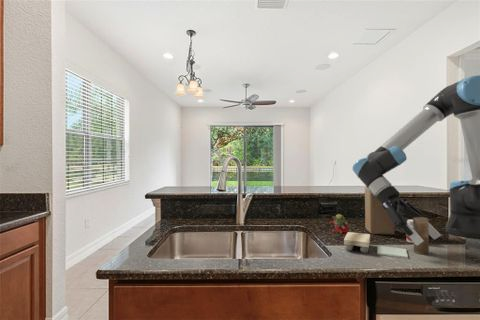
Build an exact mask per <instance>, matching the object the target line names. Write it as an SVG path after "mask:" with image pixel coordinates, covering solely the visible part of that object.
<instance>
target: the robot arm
mask: <svg viewBox="0 0 480 320" xmlns="http://www.w3.org/2000/svg"><path fill="white" fill-rule="evenodd" d="M422 108H423V109H422V110H421V111H420V112H419V113H418V114H416V115H415V116H414V117H413V118H411V120H409V121H408V122H407V123H406V124H405V125H404V126H403V127H401V128H400V129H399V130H398V131H397V132H395V133H394V134H393V135H392V136H391V137H390V138H389V139H387V140H386V141H385V142H384V143H383V144H381V145H380V146H379V147H378V148H377V149H375V150H374V151H371V152H370V153H368V154H367V155H366V156H365V157H362V158H360V159H358V160H357V161H356V162H354V164H353V165H352V171H353V173H354V174H355V175H356V177H357V178H359V180H360V181H361V182H362V183H363V184H364V185H365V187H368V189H369V190H370V191H371V193H373V194H374V195H375V196H377V199H378V200H379V201H380V202H381V203H382V204H383V205H382V207H383V208H384V209H385V210H386V212H387V214H388V215H389V217H390V219H391V221H392V222H393V224H394V226H395V229H397V230H398V231H401V230H403V232H404V233H405V235H406V234H407V235H408V236H409V237H410V239H411V240H412V241H413V242H414V243H415V244H416V245H419V244H420V243H422V242H423V241H424V240H423V239H422V238H421V237H420V236H419V235H418V234H417V232H416V231H415V230H414V229H413V228H412V227H411V226H410V225H409V224H408V225H407V220H406V219H405V216H404V215H403V214H406V215H407V216H409V217H411V218H412V219H413V217H424V218H428V219H429V217H428V216H427V215H426V214H425V213H423V212H422V211H421V210H420V209H418V208H417V207H416V206H415V205H413V204H412V203H411V202H410V201H409V200H408V199H406V198H405V197H404V198H403V199H401V198H400V197H399V196H400V192H399V191H398V189H397V188H396V187H395V186H394V185H392V183H391V182H390V181H389V180H388V179H387V178H386V177H385V176H384V175H385V174H387V173H389V172H390V171H391V170H393V169H395V168H398V166H401V165H402V164H404V163H405V162H406V161H407V158H408V157H407V153H405V151H404V150H405V149H407V147H409V146H410V145H411V144H412V143H413V142H415V141H416V140H417V139H418V138H419V137H420V136H422V135H424V133H426V131H428V130H429V129H430V128H431V127H432V126H434V125H435V124H436V123H437V122H442V121H443V120H444V119H446V118H448V117H449V116H451V115H453V116H454V118H456V119H459V121H460V126H461V131H462V136H463V140H464V141H463V142H464V146H465V149H466V155H467V159H468V164H469V168H470V173H471V179H470V180H454V181H451V182H450V183H449V190H448V191H449V217H448V220H447V222H446V225H445V232H446V233H448V234H451V235H454V236H459V237H464V238H471V239H472V238H473V239H480V74H478V75H477V74H476V75H470V76H468V77H465V78H462V79H461V80H458V81H457V82H454V83H453V84H450V85H447V86H446V87H444V88H443V89H441V90H440V91H439V92H437V94H435V95H434V96H433V97H432V98H431V99H430V100H428V102H427V103H426V104H425V105H423V107H422ZM428 232H429V236H430V237H431V238H432V240H436V239H438V238H439V237H441V236H442V234H440V232H439V231H438V230H437V229H436V228H435V227H434V226H433V225H432V224H431V223H430V222H429V221H428Z"/></svg>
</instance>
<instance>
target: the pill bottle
mask: <svg viewBox="0 0 480 320" xmlns="http://www.w3.org/2000/svg"><path fill="white" fill-rule="evenodd" d="M406 224H407V225H408V224H409V225H410V226H411V227H412V228H413V219H407V220H406ZM405 236H406V242H408V243H412V244H413V241H412V240H411V239H410V237H409V236H408V235H407V234H406V233H405Z"/></svg>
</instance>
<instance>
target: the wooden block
mask: <svg viewBox="0 0 480 320" xmlns="http://www.w3.org/2000/svg"><path fill="white" fill-rule="evenodd" d="M382 205H383V204H382V203H381V202H380V201H379V200H378V199H377V196H375V195H374V194H373V193H371V191H370V190H369V189H368V187H367V186H365V188H364V216H365V218H364V219H365V220H364V221H365V224H364V225H365V227H364V228H365V229H366V231H368V232H369V233H370V235H371V234H372V235H390V236H393V235H395V233H396V227H395V226H394V224H393V222H392V221H391V219H390V217H389V215H388V214H387V212H386V210H385V209H384V208H383V207H382Z"/></svg>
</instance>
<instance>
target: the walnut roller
mask: <svg viewBox="0 0 480 320" xmlns="http://www.w3.org/2000/svg"><path fill="white" fill-rule="evenodd" d="M412 220H413V229H414V230H415V231H416V232H417V234H418V235H419V236H420V237H421V238H422V239H423V240H424V241H423V242H422V243H420V244H419V245H416V244H415V243H414V242H413V243H412V244H413V253H414V254H417V255H422V256H424V255H425V256H428V255H429V254H430V252H429V251H430V250H429V249H430V247H429V246H430V245H429V243H430V241H429V240H430V239H429V236H430V235H429V232H428V222H429V217H428V218H424V217H413V218H412Z"/></svg>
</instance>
